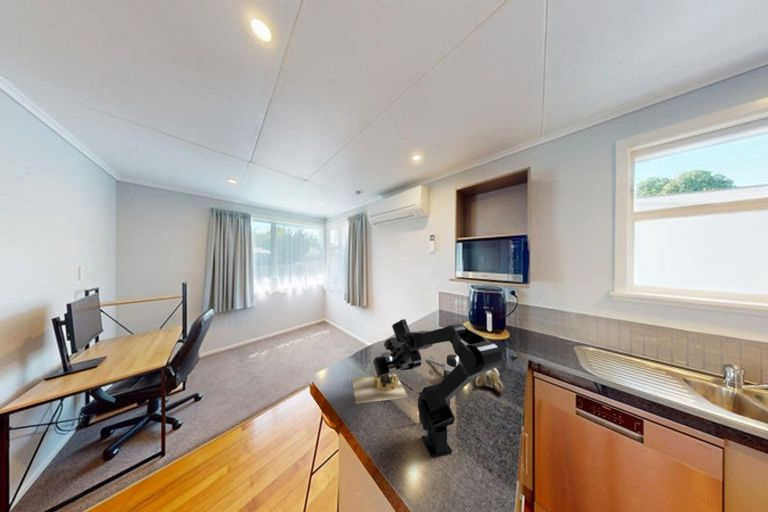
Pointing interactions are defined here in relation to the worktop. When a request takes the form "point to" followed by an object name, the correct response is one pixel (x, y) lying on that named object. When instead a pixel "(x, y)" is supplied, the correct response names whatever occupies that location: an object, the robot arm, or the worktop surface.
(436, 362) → the caliper
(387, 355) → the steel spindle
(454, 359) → the medicine bottle
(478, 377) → the ceramic sculpture
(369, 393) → the birch plate
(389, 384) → the ring nut
